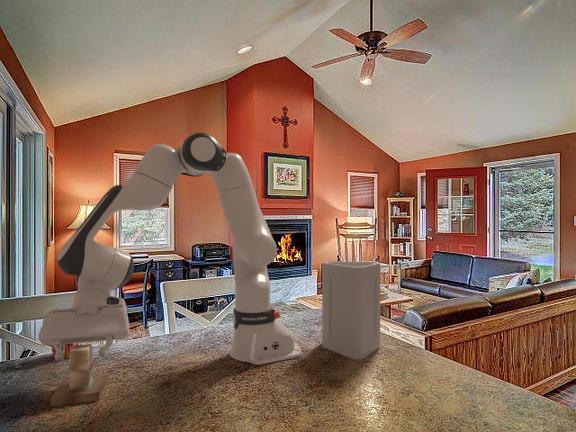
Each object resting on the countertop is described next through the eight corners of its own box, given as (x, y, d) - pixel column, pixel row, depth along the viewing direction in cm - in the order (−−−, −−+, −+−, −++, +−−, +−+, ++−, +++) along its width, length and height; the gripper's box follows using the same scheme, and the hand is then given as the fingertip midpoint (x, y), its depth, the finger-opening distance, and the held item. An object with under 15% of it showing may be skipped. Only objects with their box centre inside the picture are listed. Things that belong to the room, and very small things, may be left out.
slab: (107, 383, 95) (107, 373, 95) (99, 402, 85) (99, 391, 85) (64, 388, 92) (64, 378, 92) (50, 408, 83) (50, 397, 83)
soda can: (66, 361, 108) (66, 320, 108) (45, 359, 110) (46, 319, 110) (83, 352, 115) (84, 314, 115) (64, 350, 117) (65, 313, 117)
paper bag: (326, 359, 111) (326, 267, 111) (321, 342, 125) (322, 261, 125) (389, 359, 111) (389, 267, 111) (377, 342, 125) (377, 261, 125)
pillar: (92, 379, 91) (91, 343, 91) (88, 386, 87) (87, 349, 87) (74, 381, 90) (73, 345, 90) (69, 389, 86) (68, 351, 86)
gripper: (43, 303, 92) (27, 356, 83) (130, 298, 98) (124, 347, 89) (49, 316, 97) (34, 367, 87) (132, 311, 103) (127, 358, 93)
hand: (80, 357), depth 88 cm, fingers open, 8 cm apart
